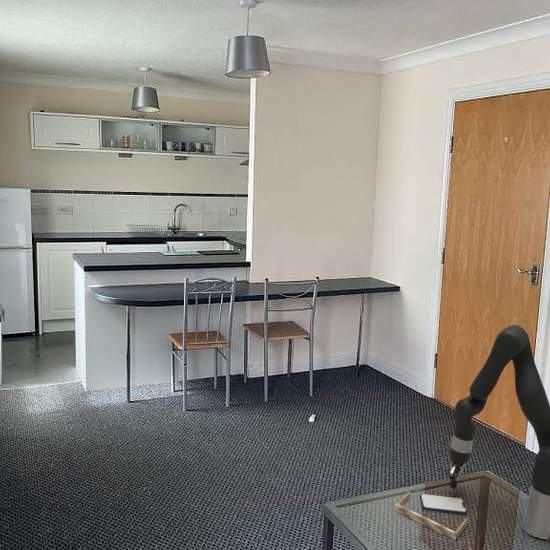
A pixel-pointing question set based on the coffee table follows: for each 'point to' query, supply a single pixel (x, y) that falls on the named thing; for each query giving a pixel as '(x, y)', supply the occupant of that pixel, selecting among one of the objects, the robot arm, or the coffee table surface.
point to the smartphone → (443, 504)
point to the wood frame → (426, 521)
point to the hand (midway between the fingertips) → (453, 487)
